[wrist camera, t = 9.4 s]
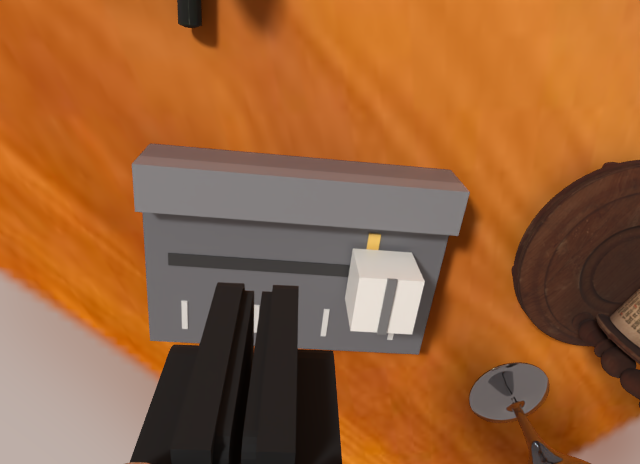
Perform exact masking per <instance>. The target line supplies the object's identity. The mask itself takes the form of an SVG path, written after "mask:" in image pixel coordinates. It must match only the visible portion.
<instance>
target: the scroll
mask: <svg viewBox="0 0 640 464" xmlns="http://www.w3.org/2000/svg"><path fill="white" fill-rule="evenodd" d="M512 275H513V282H514V289H515V293H516V296H517V299H518V301H519V303H520V305H521V307H522V309H523V310H524V311H525V313H526V314H527V315H528V317H529V318H530V319H531V321H532V322H533V323H534V324H535V325H536V326H537V327H538V328H539V329H540V330H541V331H543V332H544V333H546V334H547V335H549V336H550V337H553V338H555V339H557V340H559V341H562V342H565V343H569V344H573V345H580V346H593V347H595V349H594V352H595V354H596V355H597V356H598V357H601V364H602V367H603V369H604V370H605V371H606V372H607V373H608V374H609V375H611V376H613V377H617V378H620V382H621V385H622V387H623V388H624V389H625V390H626V391H627V392H629V393H630V394H632V395H633V396H635V397H636V398H638V399H639V400H640V370H638V369H635V368H636V362H637V363H639V364H640V160H635V161H627V162H622V163H616V162H608V163H605V164H604V165H603V167H602V168H601V169H599V170H596V171H594V172H592V173H590V174H587V175H585V176H584V177H582V178H580V179H578V180H576V181H575V182H573V183H572V184H570V185H569V186H567V187H566V188H564V189H563V190H562V191H561V192H559V193H558V194H557V195H556V196H555V197H553V198H552V199H551V200H550V201H549V202H548V203H547V204H546V205H545V206H544V207H543V208H542V209H541V210H540V212H539V213H538V214H537V215H536V217H535V218H534V219H533V221H532V222H531V224H530V225H529V227H528V228H527V230H526V232H525V234H524V235H523V237H522V240H521V242H520V244H519V247H518V250H517V253H516V256H515V261H514V266H513V267H512ZM639 407H640V402H639Z"/></svg>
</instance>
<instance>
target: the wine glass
mask: <svg viewBox="0 0 640 464" xmlns="http://www.w3.org/2000/svg"><path fill="white" fill-rule="evenodd" d="M548 392H549V380H548V378H547V375H546V374H545V373H544V372H543V371H542V370H541V369H540V368H538V367H536V366H534V365H531V364H528V363H509V364H504V365H501V366H498V367H495V368H493V369H491V370H489V371H488V372H486V373H485V374H483V375H482V376H481V377H480V378H479V379H478V380H477V381H476V382H475V384H474V385H473V387H472V389H471V391H470V395H469V404H470V407H471V409H472V411H473V412H474V413H475V414H476V415H477V416H478V417H480V418H481V419H484V420H486V421H489V422H494V423H507V422H513V421H516V420H518V422H519V424H520V426H521V428H522V431H523V434H524V436H525V439H526V442H527V445H528V449H529V460H528V464H591V463H588V462H586V461H584V460H581V459H578V458H575V457H572V456H569V455H566V454H563V453H560V452H558V451H556V450H554V449H552V448H551V447H549V446H548V445H547V444H546V443H545V442H544V441H543V440H542V439H541V437H540V436H539V435H538V433H537V432H536V430H535V429H534V428H533V426H532V425H531V423H530V422H529V420H528V418H527V416H528V415H530V414H532V413H533V412H534V411H536V410H537V409H538V408H539V407H540V406H541V405H542V404H543V403H544V401H545V400H546V398H547V396H548Z"/></svg>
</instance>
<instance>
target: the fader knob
mask: <svg viewBox="0 0 640 464" xmlns="http://www.w3.org/2000/svg"><path fill="white" fill-rule="evenodd" d="M424 283H425V281H424V279H423V277H422V274H421V272H420V270H419V268H418V265H417V263H416V261H415V259H414V256H413V254H412V253H411V252H397V251H383V250H369V249H355V248H353V250H352V257H351V263H350V269H349V276H348V282H347V289H346V295H345V302H346V308H347V314H348V320H349V326H350V331H358V332H376V333H377V334H378V335H386V334H387V333H394V334H412V333H413V329H414V324H415V320H416V316H417V312H418V308H419V304H420V300H421V295H422V291H423V287H424Z"/></svg>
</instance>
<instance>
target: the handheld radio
mask: <svg viewBox="0 0 640 464" xmlns="http://www.w3.org/2000/svg"><path fill="white" fill-rule="evenodd" d="M177 3H178V24H180V25H182V26H184V27H188V28H196V27H199V26H202V14H201V0H177Z"/></svg>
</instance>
